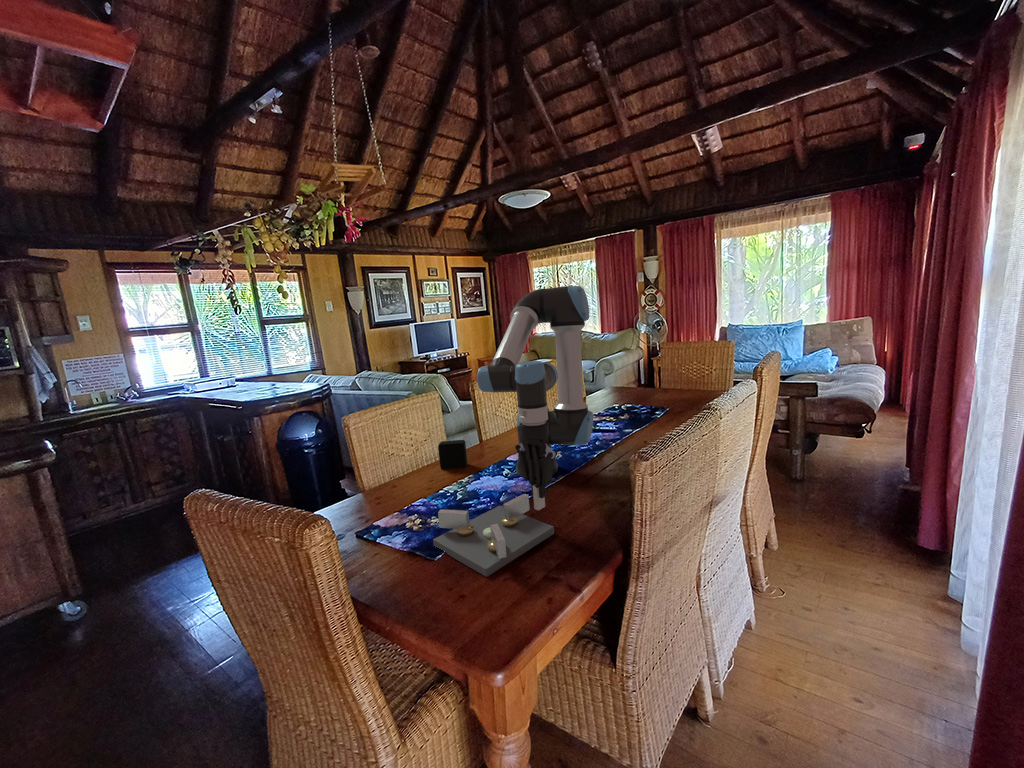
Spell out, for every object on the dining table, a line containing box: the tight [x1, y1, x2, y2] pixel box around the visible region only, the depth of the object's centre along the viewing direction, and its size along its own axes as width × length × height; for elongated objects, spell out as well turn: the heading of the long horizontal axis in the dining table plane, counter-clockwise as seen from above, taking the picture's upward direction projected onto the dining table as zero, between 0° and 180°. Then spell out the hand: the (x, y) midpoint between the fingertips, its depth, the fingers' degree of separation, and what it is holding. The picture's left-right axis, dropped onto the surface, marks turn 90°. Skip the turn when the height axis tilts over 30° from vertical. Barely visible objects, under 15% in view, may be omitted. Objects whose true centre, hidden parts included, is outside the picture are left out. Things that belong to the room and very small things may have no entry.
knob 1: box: [437, 509, 474, 536], centre depth 118 cm, size 9×4×6 cm, turn 74°
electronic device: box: [437, 439, 468, 470], centre depth 173 cm, size 4×10×10 cm, turn 89°
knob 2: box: [487, 524, 507, 559], centre depth 107 cm, size 9×4×6 cm, turn 14°
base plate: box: [432, 505, 555, 578], centre depth 117 cm, size 24×21×3 cm
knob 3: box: [502, 493, 531, 527], centre depth 122 cm, size 9×4×6 cm, turn 134°
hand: (539, 507), depth 118 cm, fingers closed
